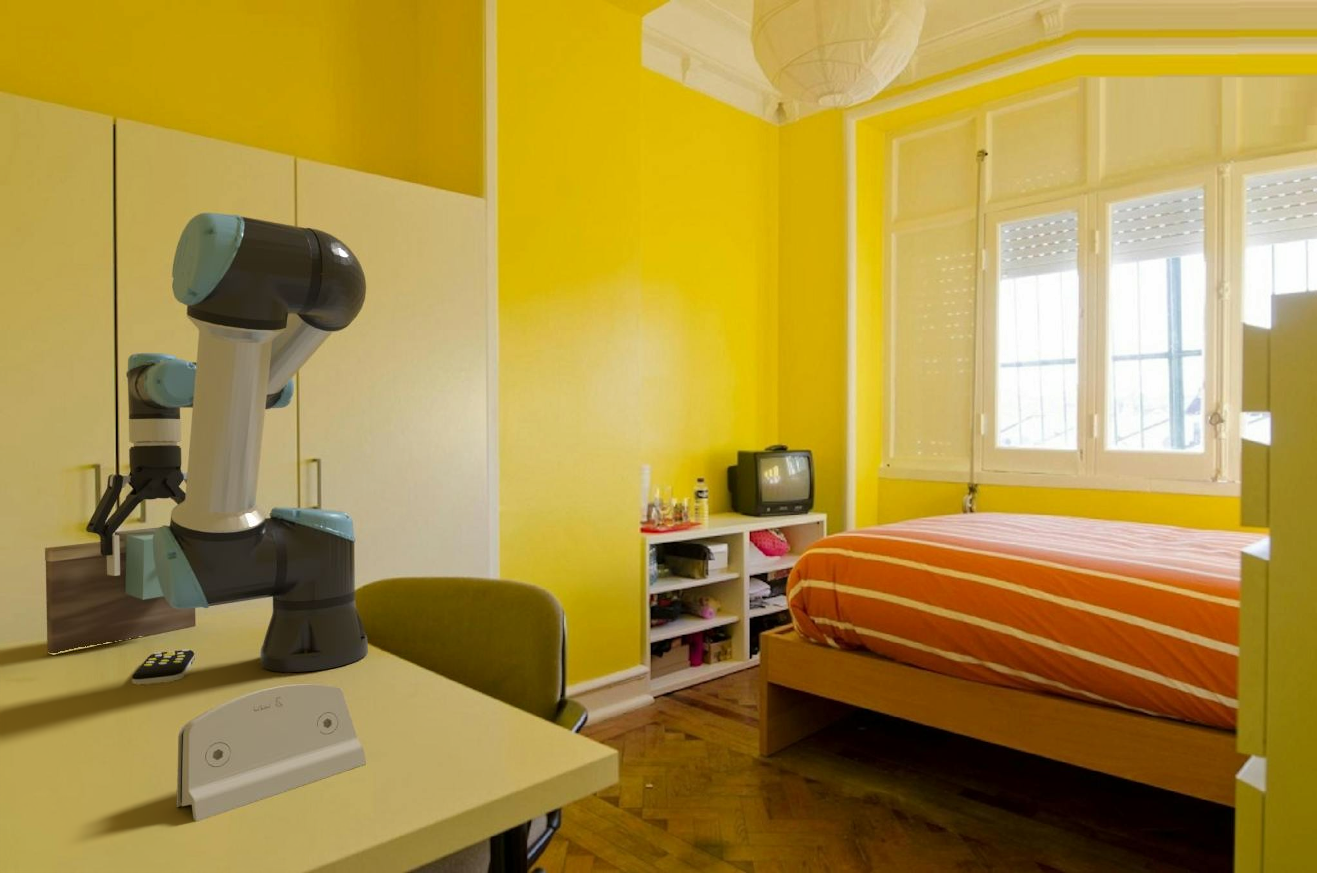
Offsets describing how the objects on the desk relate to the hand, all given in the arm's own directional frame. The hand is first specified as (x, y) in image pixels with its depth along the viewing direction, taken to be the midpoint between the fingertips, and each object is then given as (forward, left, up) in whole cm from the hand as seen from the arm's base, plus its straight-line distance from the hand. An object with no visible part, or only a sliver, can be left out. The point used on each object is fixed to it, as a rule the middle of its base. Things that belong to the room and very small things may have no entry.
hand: (158, 568), depth 135 cm
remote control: (-21, +9, -13) cm, 26 cm away
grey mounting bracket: (-70, +22, -12) cm, 74 cm away
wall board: (+5, +3, -12) cm, 13 cm away
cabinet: (+3, 0, -4) cm, 5 cm away
